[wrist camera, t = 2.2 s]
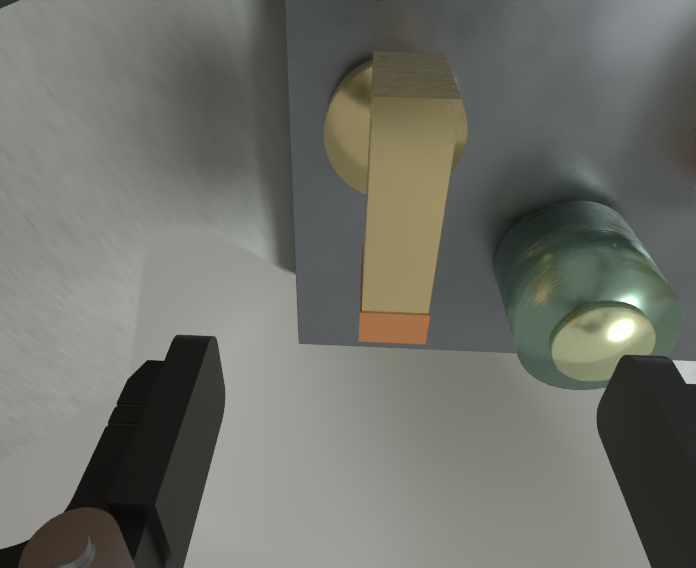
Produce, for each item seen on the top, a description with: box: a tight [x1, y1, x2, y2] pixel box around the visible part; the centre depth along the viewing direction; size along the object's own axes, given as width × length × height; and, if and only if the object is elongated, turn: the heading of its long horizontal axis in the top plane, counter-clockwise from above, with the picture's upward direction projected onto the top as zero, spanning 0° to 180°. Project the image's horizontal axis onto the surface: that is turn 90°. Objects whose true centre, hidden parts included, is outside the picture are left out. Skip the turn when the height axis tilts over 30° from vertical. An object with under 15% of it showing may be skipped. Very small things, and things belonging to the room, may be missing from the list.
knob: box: [324, 51, 468, 344], centre depth 18 cm, size 8×5×8 cm
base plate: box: [285, 0, 696, 390], centre depth 20 cm, size 20×24×7 cm
